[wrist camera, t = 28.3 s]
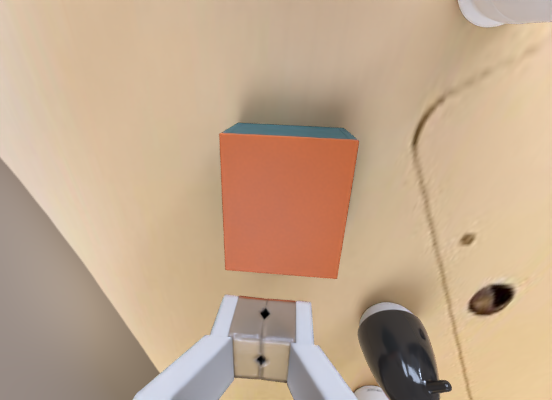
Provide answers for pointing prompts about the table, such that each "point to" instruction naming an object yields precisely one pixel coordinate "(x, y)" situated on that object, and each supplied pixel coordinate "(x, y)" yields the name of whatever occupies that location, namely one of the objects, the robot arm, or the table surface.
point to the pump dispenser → (400, 353)
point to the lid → (285, 202)
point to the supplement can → (370, 393)
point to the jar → (506, 11)
